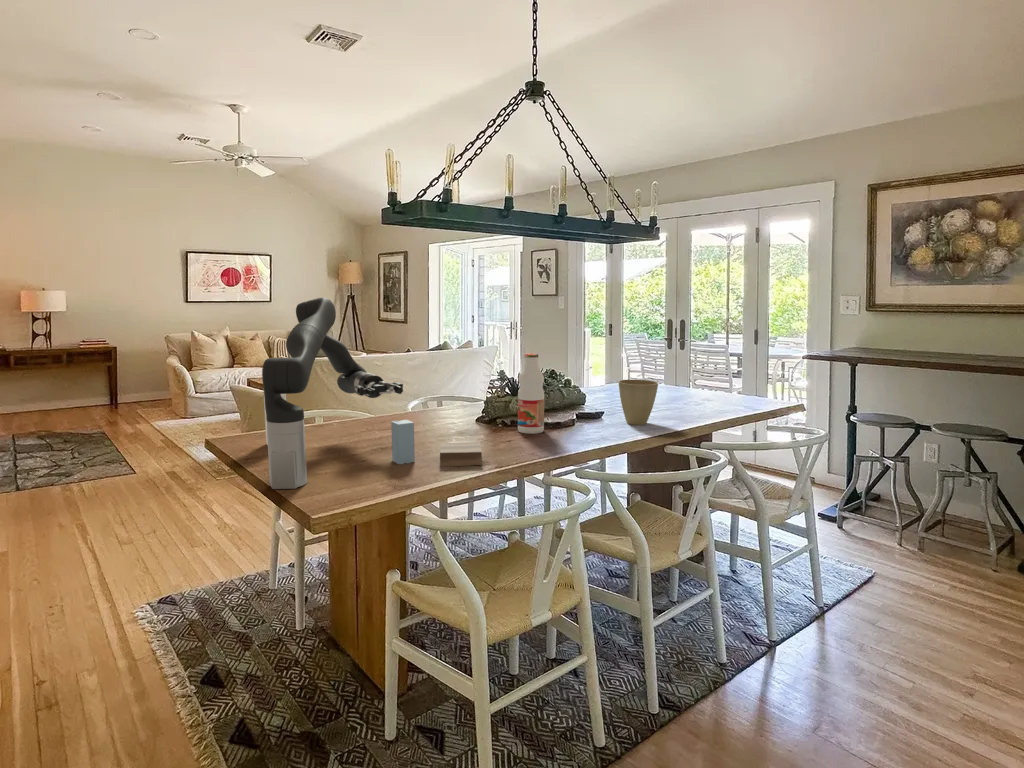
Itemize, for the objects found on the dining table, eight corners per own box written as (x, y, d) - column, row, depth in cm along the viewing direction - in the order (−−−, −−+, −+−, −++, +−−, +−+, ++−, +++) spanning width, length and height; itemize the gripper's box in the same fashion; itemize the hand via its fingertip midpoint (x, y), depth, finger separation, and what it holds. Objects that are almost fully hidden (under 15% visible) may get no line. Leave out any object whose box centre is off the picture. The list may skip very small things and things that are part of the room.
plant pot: (641, 429, 242) (642, 385, 240) (609, 422, 253) (610, 381, 251) (664, 423, 252) (666, 382, 250) (633, 417, 263) (634, 378, 261)
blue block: (398, 464, 193) (397, 424, 191) (392, 461, 197) (391, 421, 195) (414, 462, 195) (413, 422, 194) (407, 458, 200) (407, 419, 198)
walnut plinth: (481, 465, 192) (481, 452, 191) (440, 466, 191) (439, 452, 191) (480, 455, 204) (480, 442, 203) (441, 455, 203) (441, 443, 202)
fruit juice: (548, 432, 236) (549, 354, 232) (525, 435, 232) (526, 355, 228) (535, 427, 244) (536, 352, 240) (513, 430, 240) (513, 353, 236)
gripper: (347, 375, 212) (365, 381, 198) (389, 372, 220) (409, 377, 206) (348, 398, 213) (365, 406, 200) (389, 394, 221) (409, 401, 207)
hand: (387, 391), depth 203 cm, fingers open, 8 cm apart
